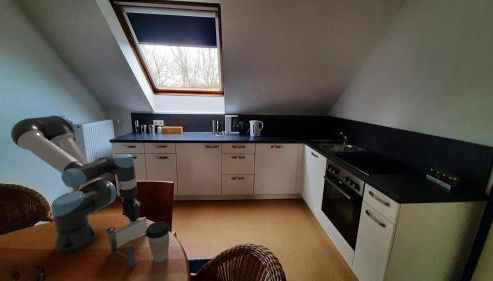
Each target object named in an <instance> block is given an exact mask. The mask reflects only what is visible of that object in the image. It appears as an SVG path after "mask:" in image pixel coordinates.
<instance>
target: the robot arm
mask: <svg viewBox="0 0 493 281" xmlns="http://www.w3.org/2000/svg"><path fill="white" fill-rule="evenodd" d="M75 133H76V128H75V124H74V123H73V121H72V120H71V119H70V118H69V117H67V116H65V115H55V114H54V115H50V116H49V115H48V116H39V117H29V118H24V119H21V120H20V121H18V122H16V123H15V124H14V125H13V127H12V128H11V131H10V136H11V140H12V142H13V143H14V144H15V145H16V146H18V147H19V148H20V149H22V150H27V151H30V153H32V154H34V155H35V156H36V157H38V158H40V159H41V160H42V161H43V162H44V163H46V164H48V165H49V166H50V167H51V168H53V169H55V170H56V171H58V172H59V173H60V174H61V181H62V183H64V186H66V187H68V188H77V187H78V186H79V187H78V189H77V190H74V191H71V192H67V193H64V194H62V195H60V196H58V197H57V198H55V199H54V200H52V203H51V215H52V217H53V222H54V225H55V229H56V237H55V240H54V250H55V252H56V253H58V254H63V255H65V254H71V253H74V252H77V251H79V250H82V249H85V248H86V247H88V246H90V245H91V244H92V243H93V242H94V241H95V240H96V238H97V237H96V236H97V235H96V231H95V229H94V227H93V226H92V225H91V223H90V222H89V216H90V215H92V214H94V213H95V212H97V211H100V210H101V209H103V208H105V207H108V206H109V205H110V204H112V203H113V202H114V201H115V200H116V198H117V189H116V187H115V185H114V184H113V183H112V182H111V181H109V180H107V181H106V180H104V178H103V177H104V176H106V175H110V174H111V175H116V179H117V180H116V181H117V185H118V186H117V187H118V191H119V192H118V193H119V197H120V198H119V202H120V203H121V206H122V209H123V213H124V216H125V217H126V218H127V219H128V220H129V224H130V223H132V222H134V221H136V220H139V219H141V218H140V215H141V214H140V213H141V206H142V202H141V201H138V198H137V194H138V192H139V190H138V186H137V185H138V184H137V183H138V182H137V176H136V170H135V161H134V157H133V155H132V154H131V153H121V154H117V155H115V156H114V157H111V156H107V155H106V156H99V157H97V158H96V159H95V160H94V161H91V162H89V161H88V159H87V158H86V157H85V155H84V154H83V152H82V151H81V149H80V147H79V146H78V145H77V143H76V141H75V140H74V139H75Z"/></svg>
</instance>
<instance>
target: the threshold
mask: <svg viewBox="0 0 493 281" xmlns="http://www.w3.org/2000/svg"><path fill="white" fill-rule="evenodd" d="M114 253H115V254H117V255H119V256H121V257H122V258H124V259H126V260H128V258H127V254H125V253H123V252H121V251H119V250H117V251H115V252H114ZM137 263H138V261H137V260H135V265H136V264H137Z"/></svg>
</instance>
